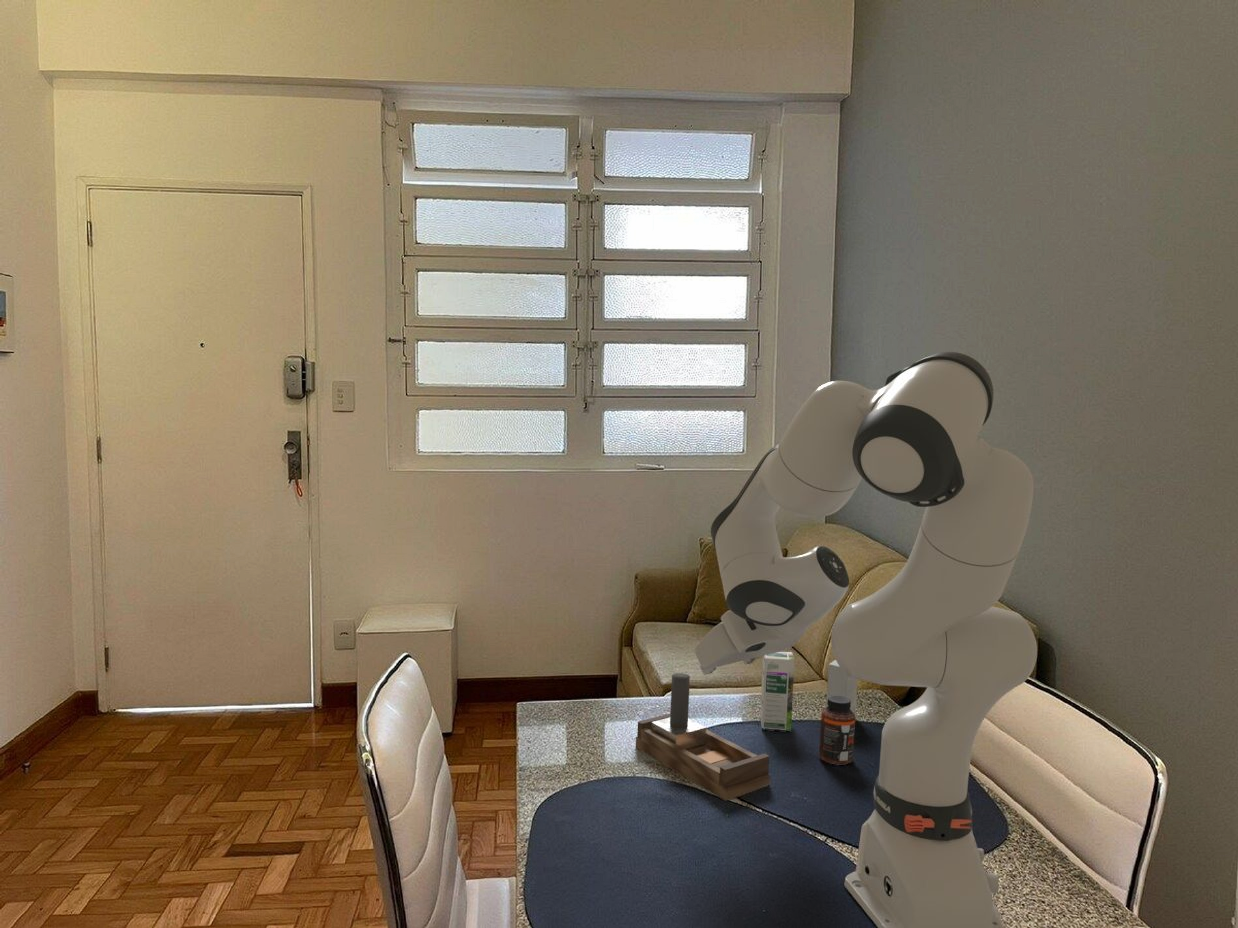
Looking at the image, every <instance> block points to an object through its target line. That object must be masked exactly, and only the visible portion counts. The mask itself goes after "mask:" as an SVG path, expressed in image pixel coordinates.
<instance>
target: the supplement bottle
mask: <svg viewBox="0 0 1238 928" xmlns="http://www.w3.org/2000/svg"><path fill="white" fill-rule="evenodd" d="M827 704H828V707H823V709H821V716H820V726H819V727H820V729H819V730H820V731H819V747H818V757H819V756H820V757H819V759H820V760H821V759H822V761H823V760H824V761H826V762H829V763H834V764H841V765H843V764H847V763H850V764H851V763H852V761H853V759H854V758H853V757H854V743H855V742H854V741H855V731H856V730H855V729H856V716H855V714H854V712H853V711H851V709H850V707H851V700H850V699H849V698H847V697H844V696H837V695H834V696H829V697H828V703H827ZM824 761H823V762H824ZM826 762H825V763H826ZM829 763H828V764H829Z"/></svg>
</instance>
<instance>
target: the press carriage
mask: <svg viewBox="0 0 1238 928" xmlns="http://www.w3.org/2000/svg"><path fill="white" fill-rule="evenodd" d="M690 680H691V677H690V675H689V674H687V673H683V672H682V673H681V672H678V673H677V672H676V673H673V674H672V675H671V688H670V689H671V691H670V695H671V696H670V713H669V714H670V718H666V719H662V720H658V721H654V722H652V724H651V731H653V732H655V733H657V734H658V735H660V736H662V737H664V738H666V739H667V740H669V741H671V742H673V743H675V744H676V745H678V746H680V747H682V748H684V749H689V748H692V747H696V746H699V745H703V744H706V729H707V726H705V725H702V724H700V723H699V722H697V721H695V720H693V719H690V718H689V707H690V706H689V704H690V683H691V682H690Z"/></svg>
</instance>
